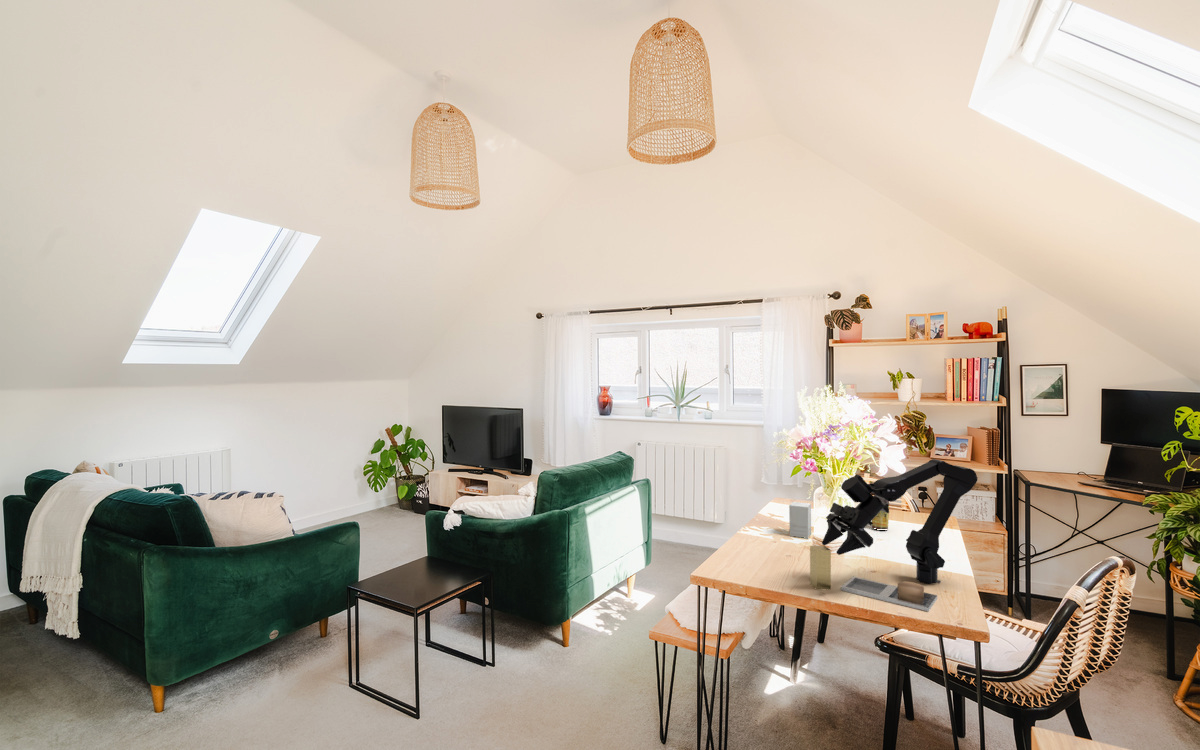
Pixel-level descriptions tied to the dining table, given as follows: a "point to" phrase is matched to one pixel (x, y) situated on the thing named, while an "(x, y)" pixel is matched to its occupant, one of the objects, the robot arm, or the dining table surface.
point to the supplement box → (800, 519)
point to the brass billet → (820, 567)
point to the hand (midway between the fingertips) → (830, 548)
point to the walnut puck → (911, 592)
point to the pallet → (884, 593)
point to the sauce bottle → (881, 518)
